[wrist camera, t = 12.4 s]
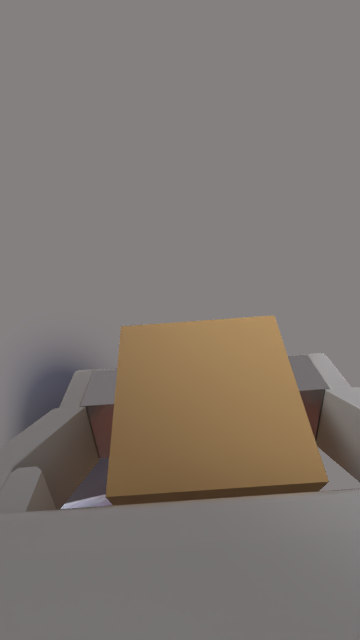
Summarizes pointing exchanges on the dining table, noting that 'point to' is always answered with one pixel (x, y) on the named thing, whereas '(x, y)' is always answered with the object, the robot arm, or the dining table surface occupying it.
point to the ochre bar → (208, 415)
